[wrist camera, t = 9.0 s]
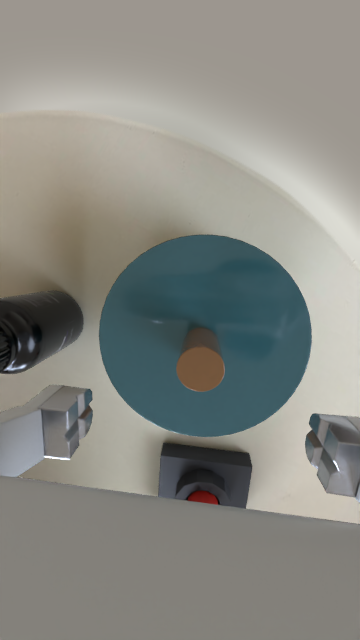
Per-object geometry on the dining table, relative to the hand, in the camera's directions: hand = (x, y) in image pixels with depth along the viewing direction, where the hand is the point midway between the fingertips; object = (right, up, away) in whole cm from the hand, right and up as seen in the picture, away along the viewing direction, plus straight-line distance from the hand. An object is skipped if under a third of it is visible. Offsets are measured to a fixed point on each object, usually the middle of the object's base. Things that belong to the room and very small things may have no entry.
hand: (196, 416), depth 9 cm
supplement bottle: (-15, +4, +21) cm, 26 cm away
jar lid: (+1, +2, +8) cm, 9 cm away
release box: (+2, -17, +24) cm, 29 cm away
